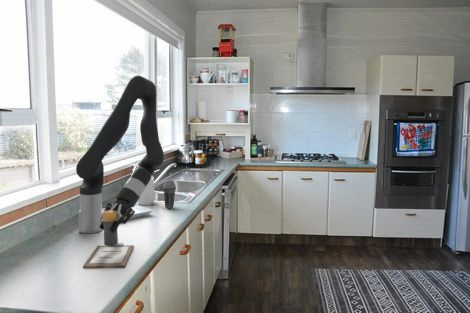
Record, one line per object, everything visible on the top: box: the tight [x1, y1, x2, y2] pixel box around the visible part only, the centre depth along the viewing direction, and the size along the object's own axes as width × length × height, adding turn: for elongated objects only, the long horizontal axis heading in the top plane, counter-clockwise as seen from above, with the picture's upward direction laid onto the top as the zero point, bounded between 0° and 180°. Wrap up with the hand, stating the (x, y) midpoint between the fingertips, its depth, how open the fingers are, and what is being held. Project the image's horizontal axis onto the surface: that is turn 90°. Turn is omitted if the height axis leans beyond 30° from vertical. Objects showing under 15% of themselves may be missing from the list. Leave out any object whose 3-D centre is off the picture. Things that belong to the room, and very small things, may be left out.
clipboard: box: [82, 242, 135, 269], centre depth 142 cm, size 14×20×2 cm
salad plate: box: [102, 204, 154, 220], centre depth 198 cm, size 21×21×3 cm
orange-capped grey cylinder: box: [102, 210, 119, 246], centre depth 141 cm, size 5×5×12 cm
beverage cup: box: [162, 172, 177, 210], centre depth 214 cm, size 7×7×20 cm
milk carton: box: [137, 175, 155, 206], centre depth 223 cm, size 7×7×19 cm
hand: (106, 229), depth 140 cm, fingers closed on orange-capped grey cylinder, 5 cm apart
